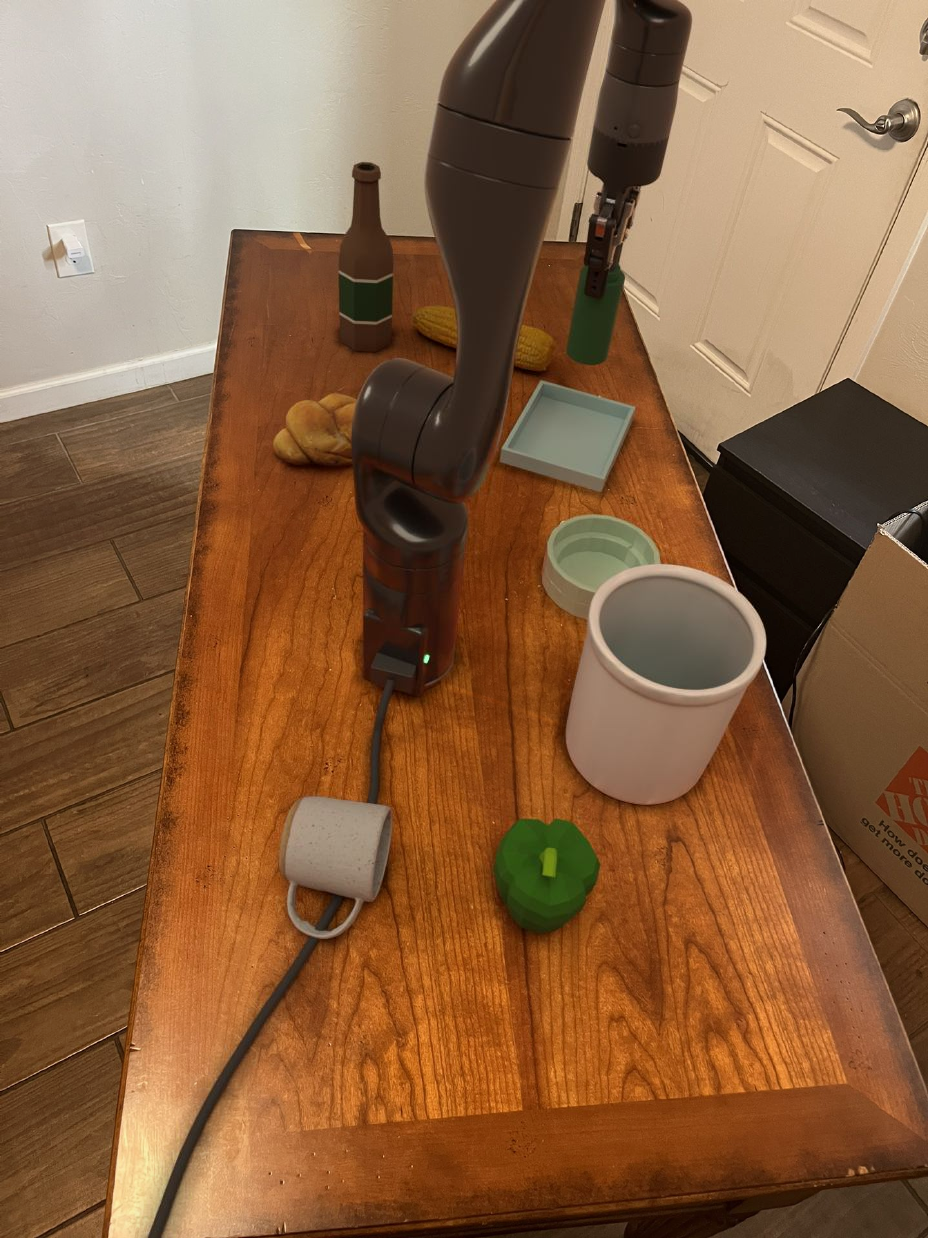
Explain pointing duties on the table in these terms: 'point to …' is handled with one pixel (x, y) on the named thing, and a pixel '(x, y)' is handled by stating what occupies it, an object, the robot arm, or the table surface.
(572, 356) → the bottle
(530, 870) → the bell pepper
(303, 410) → the bread roll
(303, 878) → the ceramic mug
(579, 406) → the tray
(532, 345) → the food
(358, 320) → the beer bottle
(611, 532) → the bowl
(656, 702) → the utensil holder
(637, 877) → the table surface
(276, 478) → the table surface
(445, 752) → the table surface
